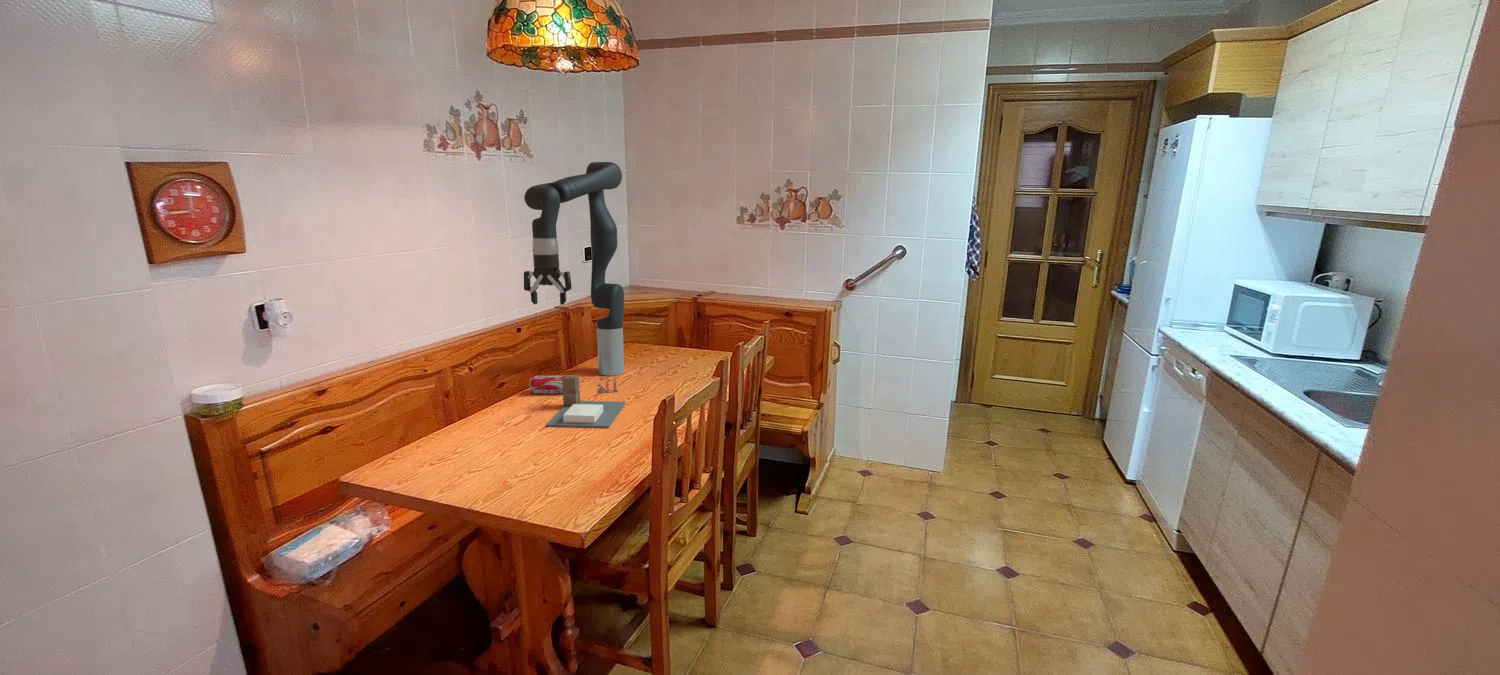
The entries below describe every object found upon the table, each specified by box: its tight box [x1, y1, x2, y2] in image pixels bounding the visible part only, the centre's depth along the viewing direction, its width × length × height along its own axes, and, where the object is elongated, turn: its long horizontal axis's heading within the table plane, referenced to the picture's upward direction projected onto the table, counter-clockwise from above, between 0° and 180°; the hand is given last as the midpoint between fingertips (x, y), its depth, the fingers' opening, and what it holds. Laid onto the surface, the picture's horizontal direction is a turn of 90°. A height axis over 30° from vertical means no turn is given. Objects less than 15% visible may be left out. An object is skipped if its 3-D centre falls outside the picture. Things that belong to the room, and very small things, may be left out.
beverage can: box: [528, 375, 566, 395], centre depth 202 cm, size 6×6×12 cm
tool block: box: [562, 374, 581, 407], centre depth 189 cm, size 4×4×9 cm
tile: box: [563, 404, 603, 424], centre depth 179 cm, size 2×9×10 cm
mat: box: [545, 400, 626, 429], centre depth 183 cm, size 22×18×1 cm
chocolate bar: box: [596, 375, 619, 395], centre depth 212 cm, size 7×19×2 cm, turn 13°
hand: (548, 304), depth 191 cm, fingers open, 8 cm apart
